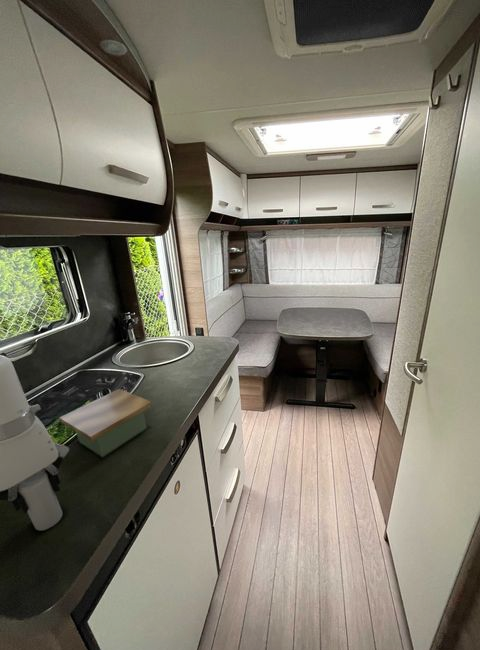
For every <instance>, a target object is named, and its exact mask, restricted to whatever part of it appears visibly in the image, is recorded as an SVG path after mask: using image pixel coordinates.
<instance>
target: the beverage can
mask: <svg viewBox="0 0 480 650" xmlns="http://www.w3.org/2000/svg"><path fill="white" fill-rule="evenodd" d="M45 471H46V470H44V469H42V470H40V471H38V472H36V473H35V474H33V475H31V476H30V477H28V478H26V479H24V480H23V481H21V482H19V483H18V484H17V492H18V493H19V494H20V495H21V496H22V498H23V500H24V502H25V504H26V506H27V508H28V511H27V512H26V513H27V514H28V517H29V519H30V521H31V522H32V525H33V527H34V529H35V530H37V531H46V530H48V529H50V528H52V527H54V526H55V525H57V523H59V522H60V520H61V519H62V517H63V509H62V507H61V504H60V503H59V499H58V497H57V495H56V492H55V491H54V490H53V488H52V485H51V483H50V480H49V478H48V475H47V474H46V473H45Z"/></svg>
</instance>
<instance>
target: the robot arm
mask: <svg viewBox="0 0 480 650" xmlns="http://www.w3.org/2000/svg"><path fill="white" fill-rule="evenodd" d="M41 411H42V408H41V406H40V405H39V404H38V403H37V404H35V405H30V404H29V401H28V399H27V396H26V393H25V392H24V389H23V387H22V384H21V381H20V379H19V376H18V374H17V372H16V368H15V366H14V364H13V362H12V361H11V359H10V358H9V357H7V356H5V355H2V354H0V501H9V503H10V504H11V506H12V508H13V510H14V511H15V512H18V511H21V512H22V513H23V514H26V513H28V512H27V511H28V508H27V506H26V504H25V502H24V500H23V498H22V496H21V495H20V494H19V493H18V492H17V484H18V483H19V482H21V481H23V480H24V479H26V478H28V477H30V476H31V475H33V474H35V473H36V472H38V471H40V470H44V469H45V470H44V471H45V473H46V474H47V475H48V478H49V480H50V483H51V485H52V488H53V490H54V492H55V493H56V492H57V493H58V492H59V491H60V490H61V489H60V487H59V484H61V479H60V478H59V475H58V474H59V468H60V466H61V465H62V463H63V462H64V458H65V457H66V456H67V454H68V453H69V452H70V447H68V446H67V445H64V444H61V443H57V442H54V440H53V438H52V437H51V435H50V433H49V431H48V430H47V428H46V426H45V425H44V423H43V422H42V421H41V419H40V418H39V417H38V416H36V414H37V413H38V412H41Z"/></svg>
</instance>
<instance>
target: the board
mask: <svg viewBox="0 0 480 650" xmlns="http://www.w3.org/2000/svg"><path fill="white" fill-rule="evenodd" d="M151 407H153V403H152V401H150V400H148V399H145V398H143V397H140V396H139V395H136V394H133V393H131V392H128V391H125V390H123V389H121V388H118V389H116V390H113V391H111V392H109V393H107V394H106V395H103V396H101V397H99V398H97V399H95V400H93V401H91V402H89V403H87V404H84V405H82V406H80V407H78V408H76V409H74V410H72V411H70V412H68V413H66V414H64V415H61V416H59V417H58V419H59V421H60V423H62V425H65V426H66V427H68V428H70V429H71V430H73V431H74V432H75V433H76V432H78V433H79V434H81V435H82V436H84V437H86V438H87V439H89V440H91V441H94V440H96V439H97V438H99V437H101V436H102V435H104V434H106V433H108V432H109V431H111V430H113V429H114V428H116V427H118V426H119V425H121V424H123V423H124V422H126V421H128V420H129V419H131V418H133V417H135V416H136V415H138V414H140V413H141V412H143V413H144V412H145V411H146V410H148V409H150V408H151Z"/></svg>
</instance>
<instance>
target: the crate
mask: <svg viewBox="0 0 480 650" xmlns="http://www.w3.org/2000/svg"><path fill="white" fill-rule="evenodd" d="M147 429H148V426H147V423H146V419H145V415H144V411H143V412H141V413H140V414H138V415H136V416H135V417H133V418H131V419H129V420H128V421H126V422H124V423H123V424H121V425H119V426H118V427H116V428H114V429H113V430H111V431H109V432H108V433H106V434H104V435H102V436H101V437H99V438H97V439H96V440H94V441H91V440H89V439H87V438H86V437H84V436H82V435H81V434H79V433H78V432H76V431H75V433H76V434H75V435H76V436H77V439H78V443H80V444H81V445H83V446H84V447H86V448H87V449H89V451H92V452H94V453H95V454H96V455H98V456H100V457H101V458H104V457H106V456H107V455H109V454H110V453H112V452H114V450H116V449H118V448H120V447H121V446H122V445H125V444H126V443H127V442H128V441H130V440H132V439H133V438H134V437H136V436H138V435H139V434H141V433H142V432H144V431H146V430H147Z"/></svg>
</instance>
